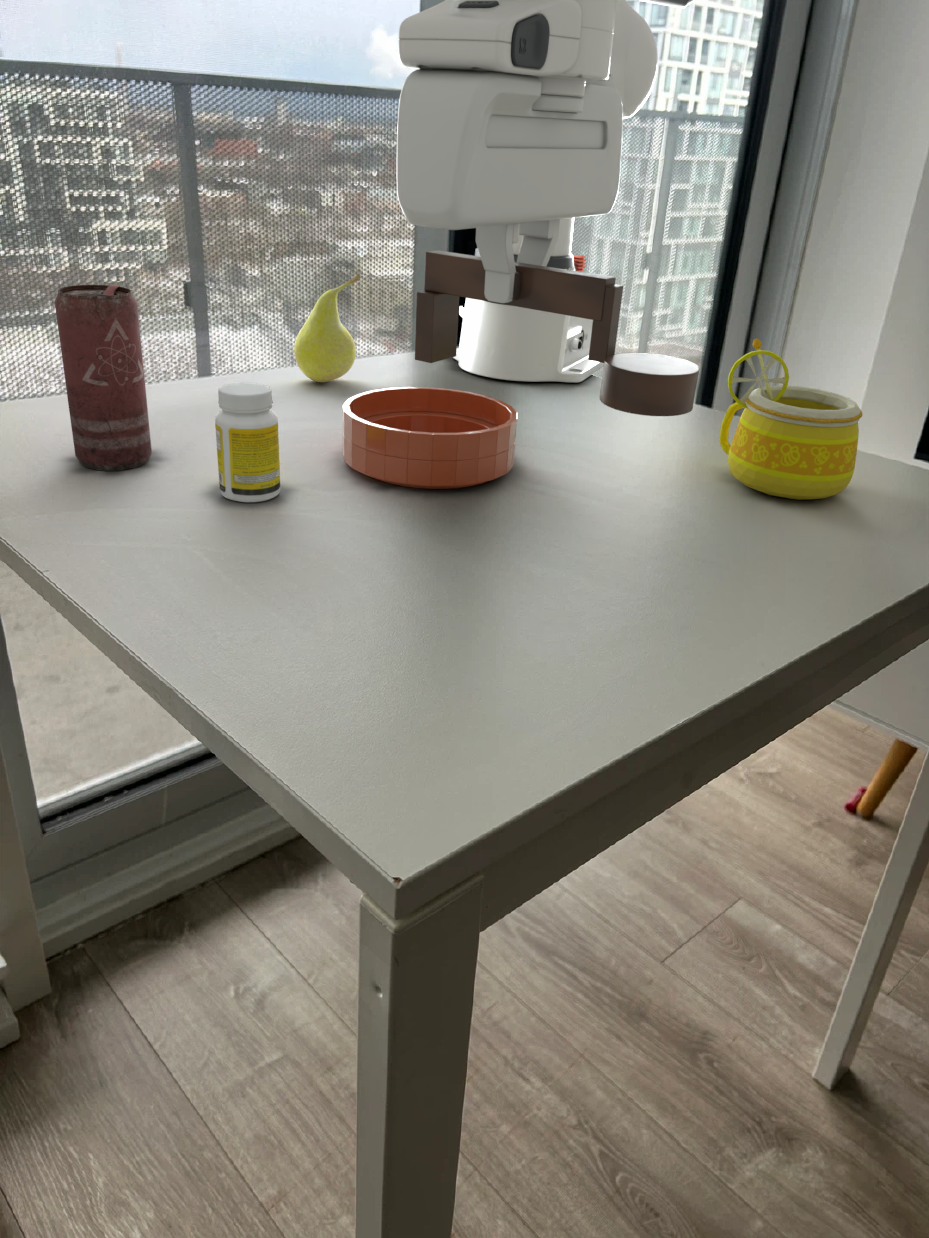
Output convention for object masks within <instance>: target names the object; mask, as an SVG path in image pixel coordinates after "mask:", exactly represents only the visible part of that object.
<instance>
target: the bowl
mask: <svg viewBox="0 0 929 1238" xmlns="http://www.w3.org/2000/svg"><path fill="white" fill-rule="evenodd" d="M341 407H342V408H341V409H342V410H341V414H342V416H341V417H342V418H341V423H342V424H341V425H342V427H341V430H342V431H341V434H342V435H341V436H342V439H341V441H342V449H341V450H342V451H341V452H342V453H341V454H342V458H343V461H344V462H345V463H346V465H348V466H349V467H350V468H351V469H353V470H355V471H357V472H358V473H361V474H363V475H365V476H366V477H367V476H368V477H370V478H372V479H374V480H377V481H380V482H384V483H387V484H391V485H396V486H401V487H408V488H415V489H429V490H449V489H459V488H460V489H461V488H468V487H474V486H478V485H482V484H485V483H487V482H489V481H493V480H496V479H499V478H501V477H503V476H505V475H507V474H508V473H509V472H510V471H511V470H513V468H514V460H515V459H514V458H515V449H516V438H517V424H518V412H517V411H516V409H515V408H514V407H513V406H512V405H510V404H508V403H506V402H504V401H502V400H500V399H497V398H494V397H491V396H489V395H486V394H480V393H476V392H472V391H467V390H466V391H465V390H460V389H453V388H444V387H430V386H400V387H386V388H381V389H373V390H372V389H371V390H368V391H364V392H361V393H357V394H355V395H352V396H351V397H349V398H347V399H346V400H345V401H344V402H343V404H342V406H341Z"/></svg>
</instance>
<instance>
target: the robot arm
mask: <svg viewBox="0 0 929 1238" xmlns="http://www.w3.org/2000/svg"><path fill="white" fill-rule="evenodd" d="M695 1H696V0H638V2H642V3H649V4H655V5H660V6H667V7H672V8H676V9H677V8H679V9H685V8H686V7H688V6H690V5H691V4H692V3H694V2H695ZM397 43H398V45H397V46H398V58H399V61H400V63H401V64H402V66H404V67H406V68H408V69H413V71H411V72H410V73H409V74H408V76H407V77H406V79H405V81H404V82H403V84H402V88H401V91H400V95H399V100H398V101H399V102H398V109H397V130H396V192H397V193H396V194H397V200H398V203H399V206H400V208H401V211H402V213H403V215H404V218H405V219H406V221H407V222H408V223H409V224H410V225H412V226H417V227H423V228H424V227H425V228H431V229H439V230H448V231H460V230H469V229H475V244H476V248H475V251H474V256H479V257H481V260H482V263H483V266H484V270H486V271H485V289H484V295H485V298H486V299H487V300H488V301H492V302H488V301H482V300H477V299H471V298H465V303H464V307H463V305H459V312H458V315H459V316H460V317H461V318H462V322H461V331H460V337H459V344H458V345H459V346H458V347H457V350H456V356H455V357H452V358H453V359H454V360H456V361H457V362H458V366H459V368H460V369H462V370H464V371H466V372H468V373H470V374H474V375H477V376H482V377H486V378H490V379H497V380H505V381H514V382H558V383H559V382H561V383H581V382H583V381H585V380H586V379H587V378H589V377H591V376H592V375H593V374H595V373H596V372H598V371H599V370H601V369H602V368H603V367H604V363H601V362H596V361H591V360H588V358H589V350H590V341H591V333H592V324H593V320H591V319H585V318H580V317H574V316H568V315H562V314H557V313H551V312H545V311H540V310H534V309H528V308H522V307H517V306H511V305H505V304H499V303H508V302H511V301H515V300H518V298H519V297H520V292H521V289H520V286H521V281H522V272H520V271H516V268H515V262H519V263H526V264H533V265H539V266H546V267H553V268H559V269H566V270H573V271H580V272H584V269H585V268H586V266H585V265H587V262H586V261H587V259H586V256H585V255H583V254H581V255H580V254H573V253H572V252H571V251H572V243H573V235H574V234H573V233H574V224H575V218H583V217H584V218H585V217H593V216H602V215H608V214H610V213H611V211H612V209H613V207H614V206H615V203H616V200H617V197H618V195H619V189H620V179H621V165H622V153H623V134H624V131H623V130H624V119H629V118H631V117H633V116H634V115H635V114H636V113H637V112H638V111H639V110H640V109H641V108H642V107H643V106H644V104H645V103H646V101H647V100H648V99H649V97H650V95H651V92H652V90H653V88H654V84H655V81H656V78H657V75H658V67H659V54H658V48H657V43H656V39H655V36H654V33H653V32H652V29H651V27H650V25H649V24H648V22H647V21H646V20H645V18H644V17H643V16H642V15H640V14H639V13H638V11H636V10H635V9H634V8H633V7H632V6H631V4H630V3H628V1H627V0H443V1H442V2H440V3H437V4H436V5H433V6H431V7H429V8H426V9H423V10H421V11H419V12H417V13H415V14H412V15H410V16H408V17H406V18H405V19H403V21H402V22H401V23H400V25H399V28H398V42H397ZM494 302H498V303H494Z"/></svg>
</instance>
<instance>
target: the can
mask: <svg viewBox="0 0 929 1238" xmlns="http://www.w3.org/2000/svg"><path fill="white" fill-rule="evenodd" d="M138 304H139V303H138V301H137V299H136V297H135V296H134V294H133V290H132V289H130V288H128V287H125V286H120V285H119V284H110V285H109V284H77V285H68V286H63V287H60V288H58V290H57V295H56V298H55V300H54V307H55V314H56V322H57V330H58V331H57V332H58V338H59V346H60V352H61V360H62V367H63V375H64V382H65V389H66V397H67V404H68V411H69V418H70V425H71V426H70V428H71V434H72V440H73V441H72V442H73V448H74V449H73V450H74V456H75V458H76V459H77V460H78V462H79V463H80V465H82V466H83V467H86V468H87V469H90V470H91V469H92V470H95V471H105V472H107V471H108V472H112V471H114V472H115V471H116V472H117V471H125V470H130V469H131V470H132V469H135V468H138V467H142V466H143V465H145V464H147V463H148V462H149V460H150V459H151V456H152V453H153V451H152V440H151V430H150V429H151V428H150V420H149V419H150V418H149V409H148V398H147V388H146V377H145V368H144V357H143V346H142V337H141V336H142V335H141V326H140V316H139V315H140V314H139V305H138Z"/></svg>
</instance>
